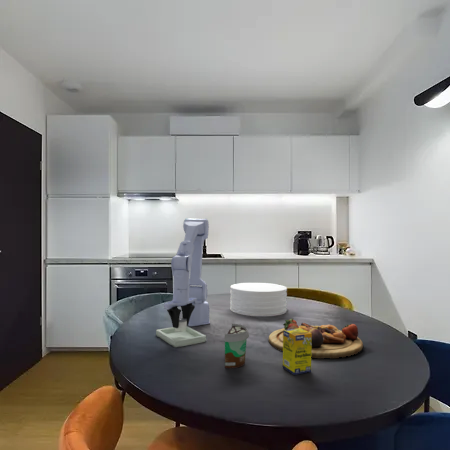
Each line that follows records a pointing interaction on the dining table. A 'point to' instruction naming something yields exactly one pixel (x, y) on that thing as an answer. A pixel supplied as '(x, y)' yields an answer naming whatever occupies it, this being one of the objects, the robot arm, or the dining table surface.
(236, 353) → the food container
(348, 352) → the wooden plate with food
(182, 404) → the dining table surface
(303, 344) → the supplement box
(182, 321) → the shaker
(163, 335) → the tray
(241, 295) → the plate stack
